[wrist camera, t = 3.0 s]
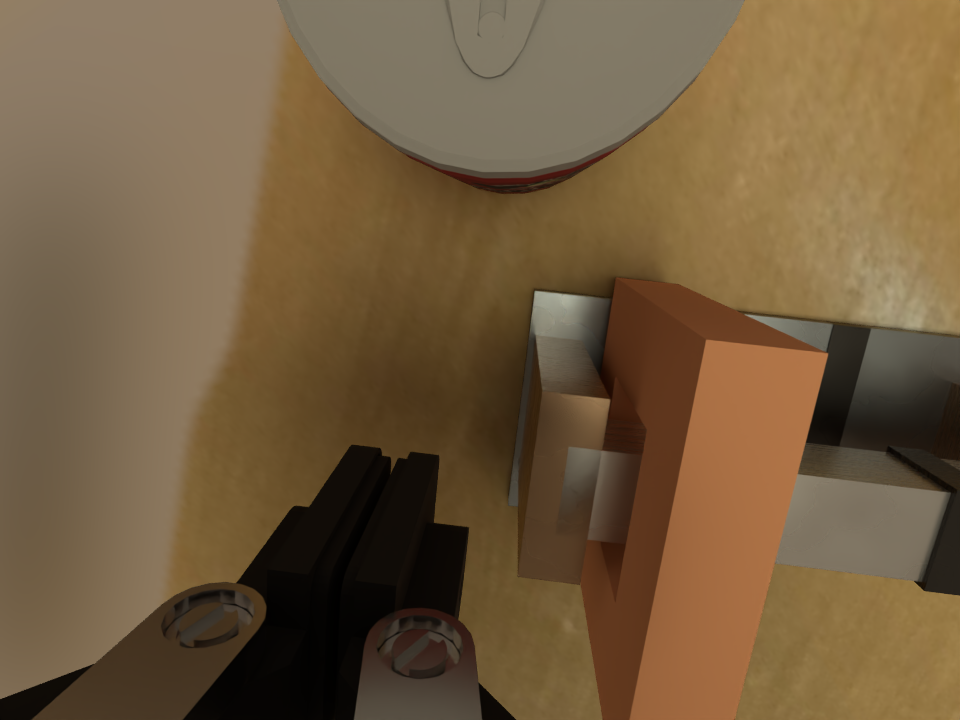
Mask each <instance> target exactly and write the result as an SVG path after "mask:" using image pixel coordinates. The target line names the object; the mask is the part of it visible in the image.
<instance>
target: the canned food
mask: <svg viewBox="0 0 960 720" xmlns="http://www.w3.org/2000/svg"><path fill="white" fill-rule="evenodd" d="M277 1H278V4H279V6H280V9H281V11H282V13H283V16H284V18H285V21H286V23H287V25H288V28H289V30H290V32H291V34H292V36H293V37H294V39H295V41H296V42H297V44H298V45H299V47H300V48H301V50H302V51H303V53H304V55H305V56H306V58H307V59H308V61H309V62H310V64H311V65H312V67H313V69H314V70H315V72H316V73H317V75H318V76H319V78H320V79H321V80H322V81H323V82H324V83H325V84H326V86H327V87H328V89H329V90H330V91H331V92H332V93H333V94H334V95H335V96H336V97H337V98H338V100H339V101H340V102H341V103H342V104H343V105H344V106H345V107H346V108H347V109H348V110H349V111H350V112H351V113H352V114H353V115H354V117H355V118H356V119H357V120H358V121H359V122H360V123H361V124H362V125H364V126H365V127H366V128H368V129H369V130H371V131H372V132H373V133H375V134H376V135H378V136H379V137H380V138H382V139H383V140H385V141H386V142H387V143H389V144H390V145H392V146H393V147H394V148H396V149H397V150H399V151H400V152H402V153H404V154H406V155H407V156H408V157H410V158H412V159H414V160H416V161H418V162H420V163H422V164H425V165H427V166H429V167H431V168H433V169H436V170H438V171H440V172H442V173H444V174H447V175H449V176H451V177H453V178H455V179H457V180H460V181H462V182H464V183H467V184H469V185H471V186H473V187H476V188H478V189H482V190H486V191H491V192H496V193H501V194H514V193H529V192H533V191H538V190H542V189H547V188H549V187H552V186H554V185H556V184H558V183H560V182H563V181H565V180H567V179H569V178H571V177H573V176H574V175H576V174H578V173H579V172H581V171H583V170H584V169H586V168H588V167H589V166H591V165H593V164H595V163H596V162H598V161H600V160H601V159H603V158H605V157H606V156H608V155H609V154H611V153H612V152H614V151H615V150H616V149H618V148H619V147H621V146H622V145H623V144H625V143H626V142H628V141H629V140H630V139H632V138H633V137H635V136H636V135H637V134H639V133H640V132H641V131H643V130H644V129H646V127H647V126H649V125H650V124H651V123H653V122H654V121H656V120H657V119H658V118H659V117H660V116H661V115H662V114H663V113H664V112H665V111H666V110H667V109H668V108H669V107H670V106H671V105H672V104H673V103H674V102H675V101H676V100H677V99H678V97H679V96H680V95H681V94H682V93H683V92H684V91H685V90H686V89H687V88H688V87H689V86H690V85H691V84H692V83H693V82H694V81H695V79H696V78H697V77H698V75H699V74H700V72H701V71H702V69H703V68H704V66H705V65H706V64H707V62H708V61H709V59H710V58H711V56H712V55H713V53H714V52H715V50H716V49H717V47H718V46H719V44H720V43H721V41H722V40H723V38H724V37H725V35H726V34H727V32H728V31H729V29H730V28H731V26H732V25H733V23H734V22H735V20H736V18H737V16H738V14H739V11H740V9H741V7H742V5H743V3H744V1H745V0H277Z"/></svg>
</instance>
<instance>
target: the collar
mask: <svg viewBox="0 0 960 720" xmlns="http://www.w3.org/2000/svg"><path fill="white" fill-rule="evenodd" d="M827 357H828V353H826V352H824V351H822V350H820V349H818V348H816V347H813V346H811V345H809V344H807V343H805V342H803V341H800V340H798V339H796V338H794V337H792V336H790V335H787V334H785V333H783V332H781V331H779V330H777V329H774V328H772V327H770V326H768V325H766V324H764V323H761V322H759V321H757V320H755V319H753V318H751V317H748V316H746V315H744V314H742V313H740V312H738V311H735V310H733V309H731V308H729V307H727V306H724V305H722V304H720V303H718V302H716V301H714V300H711V299H709V298H707V297H705V296H703V295H701V294H698V293H696V292H694V291H692V290H690V289H688V288H685V287H683V286H681V285H679V284H672V283H662V282H653V281H644V280H635V279H626V278H617V277H616V280H615V287H614V293H613V299H612V306H611V312H610V318H609V324H608V331H607V337H606V343H605V350H604V356H603V362H602V368H601V375H600V379H601V381H602V383H603V385H604V387H605V389H606V391H607V393H608V395H609V397H610V405H609V412H608V418H607V419H610V420H618V421H627V422H635V423H643V424H644V426H645V427H646V429H647V433H646V438H645V444H644V449H643V455H642V460H641V466H640V471H639V477H638V482H637V487H636V493H635V498H634V504H633V509H632V515H631V520H630V525H629V531H628V536H627V542H626V544H619V543H611V542H603V541H595V540H587V545H586V551H585V557H584V563H583V569H582V575H581V581H580V582H581V588H582V595H583V601H584V607H585V613H586V619H587V625H588V631H589V637H590V644H591V650H592V656H593V662H594V668H595V674H596V680H597V686H598V693H599V699H600V705H601V711H602V717H603V720H735V717H736V713H737V709H738V705H739V701H740V697H741V693H742V689H743V685H744V681H745V678H746V674H747V670H748V666H749V662H750V658H751V654H752V650H753V646H754V642H755V638H756V635H757V631H758V627H759V623H760V619H761V615H762V611H763V607H764V603H765V599H766V595H767V592H768V588H769V584H770V580H771V576H772V572H773V568H774V564H775V560H776V556H777V553H778V549H779V545H780V541H781V537H782V533H783V529H784V525H785V521H786V517H787V513H788V510H789V506H790V502H791V498H792V494H793V490H794V486H795V482H796V478H797V474H798V470H799V467H800V463H801V459H802V455H803V451H804V447H805V443H806V439H807V435H808V431H809V428H810V424H811V420H812V416H813V412H814V408H815V404H816V400H817V396H818V392H819V388H820V385H821V381H822V377H823V373H824V369H825V365H826V361H827Z"/></svg>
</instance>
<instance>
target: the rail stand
mask: <svg viewBox="0 0 960 720" xmlns="http://www.w3.org/2000/svg"><path fill="white" fill-rule="evenodd" d="M612 299H613V297H604V296H595V295H586V294H577V293H568V292H559V291H550V290H541V289H535V291H534V299H533V307H532V314H531V322H530V330H529V338H528V346H527V354H526V362H525V370H524V378H523V386H522V394H521V402H520V410H519V418H518V426H517V434H516V442H515V449H514V457H513V465H512V473H511V481H510V489H509V497H508V505H509V506H517V507H518V577H524V578H532V579H540V580H547V581H555V582H563V583H570V584H578V585H580V581H581V575H582V569H583V563H584V557H585V551H586V545H587V540H595V541H603V542H611V543H619V544H626V542H627V536H628V531H629V525H630V520H631V515H632V509H633V504H634V498H635V493H636V487H637V482H638V477H639V471H640V466H641V460H642V455H643V449H644V444H645V438H646V433H647V429H646V427H645V426H644V424H643V423H635V422H627V421H618V420H610V419H607V418H608V412H609V405H610V397H609V395H608V393H607V391H606V389H605V387H604V385H603V383H602V381H601V379H600V375H601V368H602V362H603V356H604V350H605V343H606V337H607V331H608V324H609V318H610V312H611V306H612ZM738 312H739V311H738ZM740 313H742V314H744V315H746V316H748V317H751V318H753V319H755V320H757V321H759V322H761V323H764V324H766V325H768V326H770V327H772V328H774V329H777V330H779V331H781V332H783V333H785V334H787V335H790V336H792V337H794V338H796V339H798V340H800V341H803V342H805V343H807V344H809V345H811V346H813V347H816V348H818V349H820V350H822V351H824V352H826V353H828V357H827V361H826V365H825V369H824V373H823V377H822V381H821V385H820V388H819V392H818V396H817V400H816V404H815V408H814V412H813V416H812V420H811V424H810V428H809V431H808V435H807V439H806V443H805V447H804V451H803V455H802V459H801V463H800V467H799V470H798V474H797V478H796V482H795V486H794V490H793V494H792V498H791V502H790V506H789V510H788V513H787V517H786V521H785V525H784V529H783V533H782V537H781V541H780V545H779V549H778V553H777V556H776V560H775V563H777V564H785V565H793V566H801V567H808V568H816V569H824V570H832V571H840V572H848V573H856V574H864V575H872V576H880V577H887V578H895V579H903V580H911V581H914V582H915V583H916V584H917V585H918V586H920V587H921V588H922V589H923V590H924V591H928V592H936V593H944V594H952V595H960V336H956V335H947V334H938V333H929V332H920V331H911V330H902V329H893V328H884V327H875V326H866V325H857V324H848V323H839V322H830V321H821V320H812V319H803V318H794V317H785V316H776V315H767V314H757V313H748V312H740Z"/></svg>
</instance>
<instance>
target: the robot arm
mask: <svg viewBox="0 0 960 720" xmlns="http://www.w3.org/2000/svg"><path fill="white" fill-rule="evenodd" d="M438 469H439V455H433V454H424V453H416V452H410V454H409V456H408V458H407V459H403V458H398V460H397V462H396V464H395V466H394V468H393V470H392V472H391V458H390V457H387V456H382V451H381V448H375V447H367V446H359V445H351V446H350V447H349V449H348V450H347V452H346V453H345V455H344V456H343V458H342V459H341V461H340V462H339V464H338V465H337V467H336V468H335V470H334V471H333V473H332V474H331V475H330V477H329V478H328V480H327V481H326V483H325V484H324V486H323V487H322V489H321V490H320V492H319V493H318V495H317V496H316V498H315V499H314V501H313V502H312V503H311V505H310V506H309V507H302V506H294V507H293V508H292V509H291V510H290V511H289V512H288V514H287V515H286V516H285V518H284V519H283V520H282V522H281V523H280V524H279V526H278V527H277V529H276V530H275V531H274V533H273V534H272V535H271V537H270V538H269V539H268V541H267V542H266V544H265V545H264V546H263V548H262V549H261V550H260V552H259V553H258V554H257V556H256V557H255V559H254V560H253V561H252V563H251V564H250V565H249V567H248V568H247V569H246V571H245V572H244V574H243V575H242V576H241V578H240V579H239V580H238V582H237V583H229V582H222V583H209V584H205V585H201V586H197V587H193V588H190V589H188V590H185V591H183V592H181V593H179V594H176V595H175V596H173V597H172V598H170V599H169V600H168V601H166V602H165V603H163V604H162V605H161V606H160V607H158V608H157V609H156V610H155V611H154V612H153V613H152V614H150V615H149V616H148V617H147V618H146V619H145V620H144V621H143V622H141V623H140V624H139V625H138V626H137V627H136V628H135V629H134V630H132V631H131V632H130V633H129V634H128V635H127V636H126V637H124V638H123V639H122V640H121V641H120V642H119V643H118V644H117V645H115V646H114V647H113V648H112V649H111V650H110V651H109V652H107V653H106V654H105V655H104V656H103V657H102V658H101V659H100V660H98V661H97V662H96V663H95V664H93V665H90V666H88V667H85V668H82V669H79V670H77V671H74V672H71V673H69V674H66V675H64V676H61V677H58V678H56V679H53V680H50V681H47V682H45V683H42V684H40V685H37V686H34V687H32V688H29V689H26V690H24V691H21V692H18V693H16V694H13V695H11V696H8V697H5V698H2V699H0V720H516V719H515V718H514V717H513V716H512V715H511V714H510V713H509V712H508V711H507V710H506V709H505V708H504V707H503V706H502V705H501V704H500V703H499V702H498V701H497V700H496V699H495V698H494V697H493V696H492V695H491V694H490V693H489V692H488V691H487V690H486V689H485V688H484V687H483V686H482V685H481V684H480V683H479V682H478V675H477V665H476V655H475V646H474V642H473V639H472V636H471V633H470V632H469V631H468V630H467V628H466V627H465V626H464V625H463V623H461V622H460V621H458V617H459V610H460V603H461V595H462V587H463V579H464V570H465V561H466V552H467V543H468V532H469V527H461V526H454V525H446V524H438V523H434V514H435V502H436V491H437V480H438ZM390 473H391V475H390Z"/></svg>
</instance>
